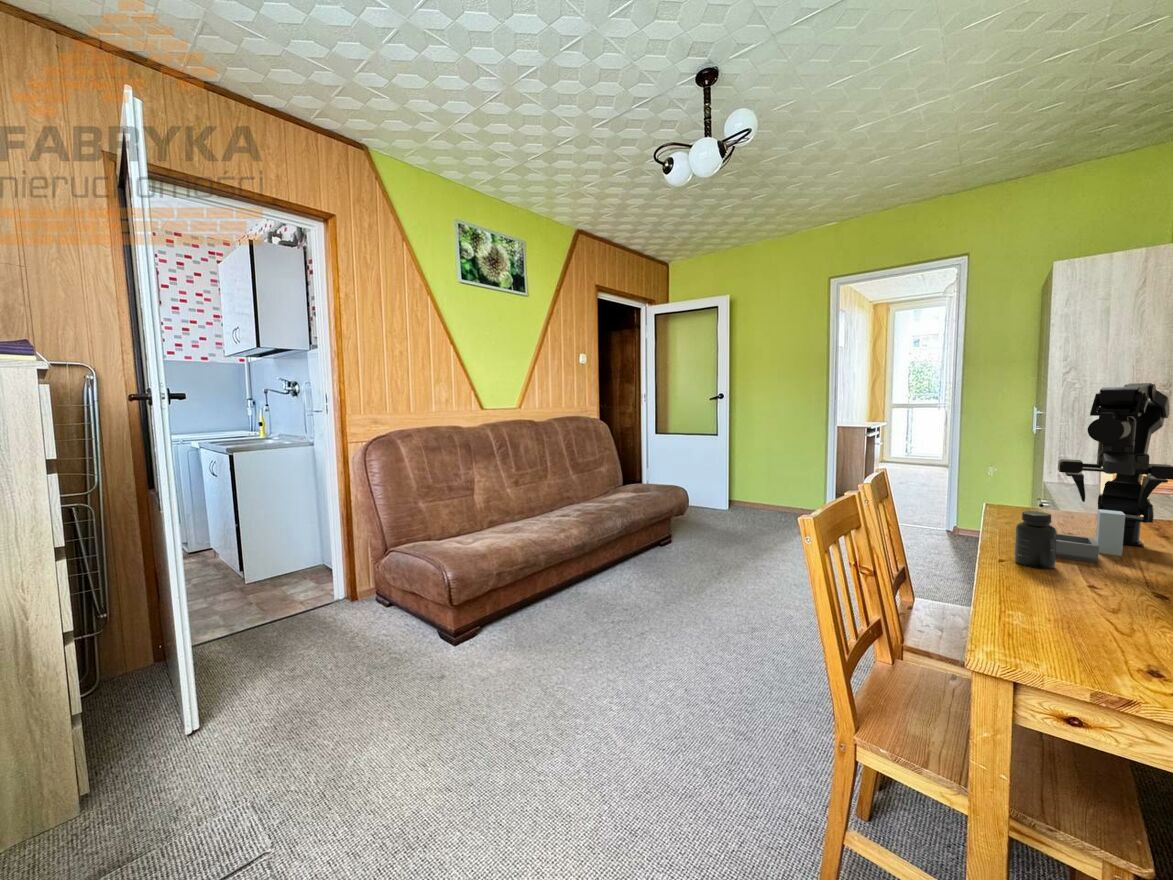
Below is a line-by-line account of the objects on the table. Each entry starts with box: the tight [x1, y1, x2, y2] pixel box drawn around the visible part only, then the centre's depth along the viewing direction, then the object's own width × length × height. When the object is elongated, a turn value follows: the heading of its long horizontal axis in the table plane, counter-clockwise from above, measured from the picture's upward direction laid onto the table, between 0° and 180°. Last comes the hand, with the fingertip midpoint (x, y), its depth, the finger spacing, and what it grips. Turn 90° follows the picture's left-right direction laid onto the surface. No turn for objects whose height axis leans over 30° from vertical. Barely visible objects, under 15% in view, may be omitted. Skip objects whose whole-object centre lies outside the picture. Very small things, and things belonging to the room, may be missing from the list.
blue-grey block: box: [1094, 508, 1125, 557], centre depth 114 cm, size 4×4×10 cm
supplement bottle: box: [1014, 510, 1058, 570], centre depth 108 cm, size 7×7×12 cm
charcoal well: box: [1056, 533, 1100, 564], centre depth 113 cm, size 8×8×4 cm
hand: (1110, 504), depth 114 cm, fingers open, 9 cm apart
